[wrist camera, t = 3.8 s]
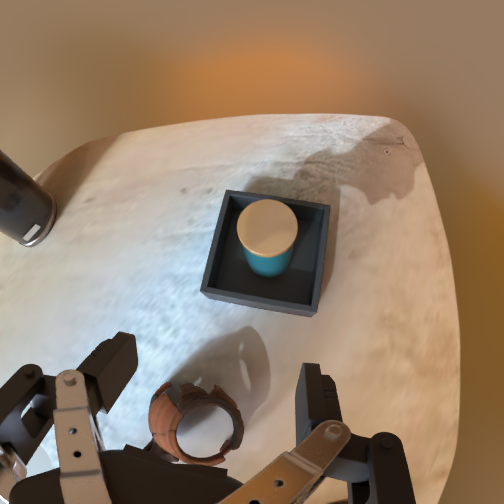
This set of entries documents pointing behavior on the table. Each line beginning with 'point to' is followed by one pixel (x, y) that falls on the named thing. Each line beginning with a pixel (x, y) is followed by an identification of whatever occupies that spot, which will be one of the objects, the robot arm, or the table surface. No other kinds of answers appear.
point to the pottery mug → (169, 415)
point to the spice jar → (267, 237)
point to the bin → (262, 289)
